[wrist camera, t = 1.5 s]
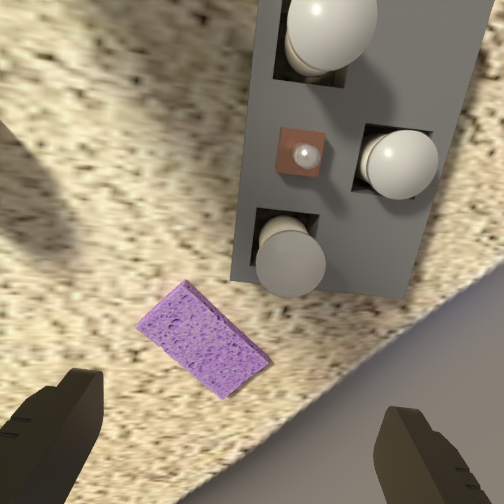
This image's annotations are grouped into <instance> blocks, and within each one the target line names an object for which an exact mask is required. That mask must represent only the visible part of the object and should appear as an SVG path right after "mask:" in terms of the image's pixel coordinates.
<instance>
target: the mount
mask: <svg viewBox="0 0 504 504" xmlns="http://www.w3.org/2000/svg"><path fill="white" fill-rule="evenodd" d="M291 1H292V0H259V1H258V11H257V20H256V30H255V40H254V49H253V59H252V69H251V79H250V88H249V98H248V108H247V118H246V127H245V137H244V147H243V157H242V166H241V176H240V186H239V196H238V205H237V215H236V225H235V235H234V244H233V254H232V264H231V274H230V281H237V282H247V283H256V284H261V282H260V281H259V279H258V276H257V272H256V257H257V253H258V251H257V250H252V242H253V234H254V225H255V217H256V209H257V207H258V208H267V209H276V210H285V211H293V212H302V213H310V216H309V221H308V227H307V232H308V234H309V235H310V236H312V237H313V238H314V239H315V240H316V241H317V242H318V244H319V245H320V247H321V249H322V251H323V253H324V256H325V260H326V268H325V273H324V276H323V278H322V280H321V281H320V283H319V284H318V285H317V286H316V287H315V288H314V290H323V291H333V292H343V293H352V294H362V295H371V296H381V297H390V298H400V299H404V296H405V292H406V289H407V286H408V283H409V279H410V276H411V273H412V269H413V266H414V263H415V260H416V256H417V253H418V250H419V246H420V243H421V240H422V237H423V233H424V230H425V227H426V224H427V220H428V217H429V214H430V210H431V207H432V204H433V201H434V197H435V194H436V191H437V187H438V184H439V181H440V178H441V174H442V171H443V168H444V164H445V161H446V158H447V155H448V151H449V148H450V145H451V142H452V138H453V135H454V132H455V128H456V125H457V122H458V119H459V115H460V112H461V109H462V105H463V102H464V99H465V96H466V92H467V89H468V86H469V82H470V79H471V76H472V73H473V69H474V66H475V63H476V60H477V56H478V53H479V50H480V46H481V43H482V40H483V37H484V33H485V30H486V27H487V23H488V20H489V17H490V14H491V10H492V7H493V4H494V0H376V2H377V23H376V28H375V31H374V34H373V37H372V39H371V41H370V43H369V45H368V46H367V48H366V49H365V50H364V52H363V53H362V54H361V55H360V56H359V57H358V58H357V59H355V60H354V61H353V62H351V63H350V64H348V65H346V66H344V67H343V68H340V69H338V70H336V71H335V76H334V82H333V87H329V86H321V85H313V84H305V83H298V82H290V81H282V80H275V79H273V71H274V63H275V55H276V46H277V38H278V30H279V22H280V14H281V12H284V13H288V11H289V8H290V5H291ZM365 125H370V126H378V127H386V128H394V129H402V130H413V131H418V132H421V133H423V134H425V135H426V136H428V137H429V138H430V139H431V140H432V142H433V143H434V145H435V147H436V149H437V153H438V167H437V171H436V173H435V176H434V178H433V179H432V181H431V183H430V184H429V185H428V186H427V187H426V188H425V189H424V190H423V191H422V192H420V193H419V194H417V195H415V196H413V197H411V198H408V199H401V200H396V199H390V198H387V197H385V196H383V195H381V194H380V193H378V192H377V191H376V190H374V189H373V188H370V187H362V186H353V185H352V184H353V179H354V174H355V170H356V165H357V161H358V156H359V151H360V147H361V142H362V138H363V133H364V128H365ZM281 127H283V128H291V129H299V130H307V131H315V132H323V133H326V136H325V141H324V147H323V152H322V158H321V163H320V169H319V174H318V177H312V176H303V175H295V174H286V173H278V172H276V171H275V165H276V157H277V150H278V143H279V135H280V128H281Z"/></svg>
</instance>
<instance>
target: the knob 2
mask: <svg viewBox="0 0 504 504" xmlns="http://www.w3.org/2000/svg"><path fill="white" fill-rule="evenodd" d="M376 23H377V2H376V0H292V1H291V5H290V8H289V11H288V16H287V32H286V35H285V40H284V50H285V55H286V58H287V61H288V63H289V64H290V66H291V67H292V68H293V69H294V70H295V71H296V72H297V73H299V74H301V75H303V76H307V77H317V76H320V75H323V74H325V73H327V72H328V71H333V70H338V69H340V68H343V67H344V66H346V65H348V64H350V63H351V62H353V61H354V60H355V59H357V58H358V57H359V56H360V55H361V54H362V53H363V52H364V50H365V49H366V48H367V46H368V45H369V43H370V41H371V39H372V37H373V34H374V31H375V28H376Z"/></svg>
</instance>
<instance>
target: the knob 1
mask: <svg viewBox="0 0 504 504" xmlns="http://www.w3.org/2000/svg"><path fill="white" fill-rule="evenodd" d="M325 268H326V260H325V256H324V253H323V251H322V249H321V247H320V245H319V244H318V242H317V241H316V240H315V239H314V238H313V237H312V236H310V235H309V234H308V232H307V230H306V228H305V227H304V225H303V224H302V223H301V222H300V221H299V220H298V219H296V218H294V217H291V216H286V215H282V216H277V217H274V218H272V219H270V220H269V221H267V222H266V223H265V224H264V226H263V227H262V229H261V231H260V234H259V250H258V253H257V257H256V272H257V276H258V279H259V281H260V282H261V284H262V285H263V286H264V287H265V288H266V289H267V290H268V291H269V292H271V293H272V294H275V295H277V296H280V297H285V298H294V297H299V296H302V295H305V294H307V293H309V292H310V291H312V290H313V289H314V288H315V287H316V286H317V285H318V284H319V283H320V281H321V280H322V278H323V276H324V273H325Z"/></svg>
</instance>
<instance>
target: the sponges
mask: <svg viewBox="0 0 504 504" xmlns="http://www.w3.org/2000/svg"><path fill="white" fill-rule="evenodd" d="M135 328H136V329H137V330H138V331H140V332H141V333H143V334H144V335H145V336H146V337H148V339H150V340H151V341H152V342H154V343H155V344H156V345H158V346H161V347H162V348H163V349H164V351H165V352H166V353H167V354H168V355H169V356H170V357H171V358H172V359H174V360H175V361H177V362H178V363H179V364H180V365H181V366H183V367H184V368H185V369H186V370H187V371H188V372H189V373H191V374H192V375H193V376H194V377H195V378H197V379H198V380H199V381H200V382H201V383H203V384H204V385H205V386H207V387H208V388H209V389H210V390H211V391H212V392H214V393H215V394H216V395H217V396H218V397H219V398H220V399H222V400H223V399H224V398H226V397H227V396H228V395H229V394H230V393H232V392H233V391H234V390H235V389H237V388H238V387H239V386H240V385H241V384H242V383H243V382H245V381H246V380H247V379H249V377H252V376H253V374H255V373H256V372H258V371H260V370H261V369H262V368H264V367H265V366H266V365H267V364H269V363H268V362H269V356H268V355H266V354H265V353H264V352H263V351H262V350H261V349H260V348H259V347H258V346H256V345H255V344H254V343H253V341H251V340H250V339H248V337H247V336H246V335H245V334H244V333H243V332H242V331H240V330H239V329H238V328H237V327H236V326H235V325H234V324H233V323H232V322H231V321H230V320H228V318H226V317H225V316H224V315H223V314H222V313H221V312H220V311H219V310H218V309H217V308H215V307H214V306H213V305H212V304H211V302H210V301H209V300H208V299H207V298H206V297H204V296H203V295H202V294H201V293H200V292H199V291H198V290H197V289H196V288H195V287H194V286H193V285H192V284H191V283H189V282H188V281H187V280H186V279H185V280H184V281H182V282H181V283H180V284H179V285H178V286H177V287H176V288H175V289H173V290H172V292H170V293H169V294H168V295H167V296H166V297H165V298H164V299H163V300H162V301H160V302H159V303H158V304H157V305H156V306H155V307H154V308H153V309H152V310H151V311H150V312H148V313H147V314H146V315H145V316H144V317H143V318H142V319H141V320H140V321H139V323H138V324H137V326H136V327H135Z"/></svg>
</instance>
